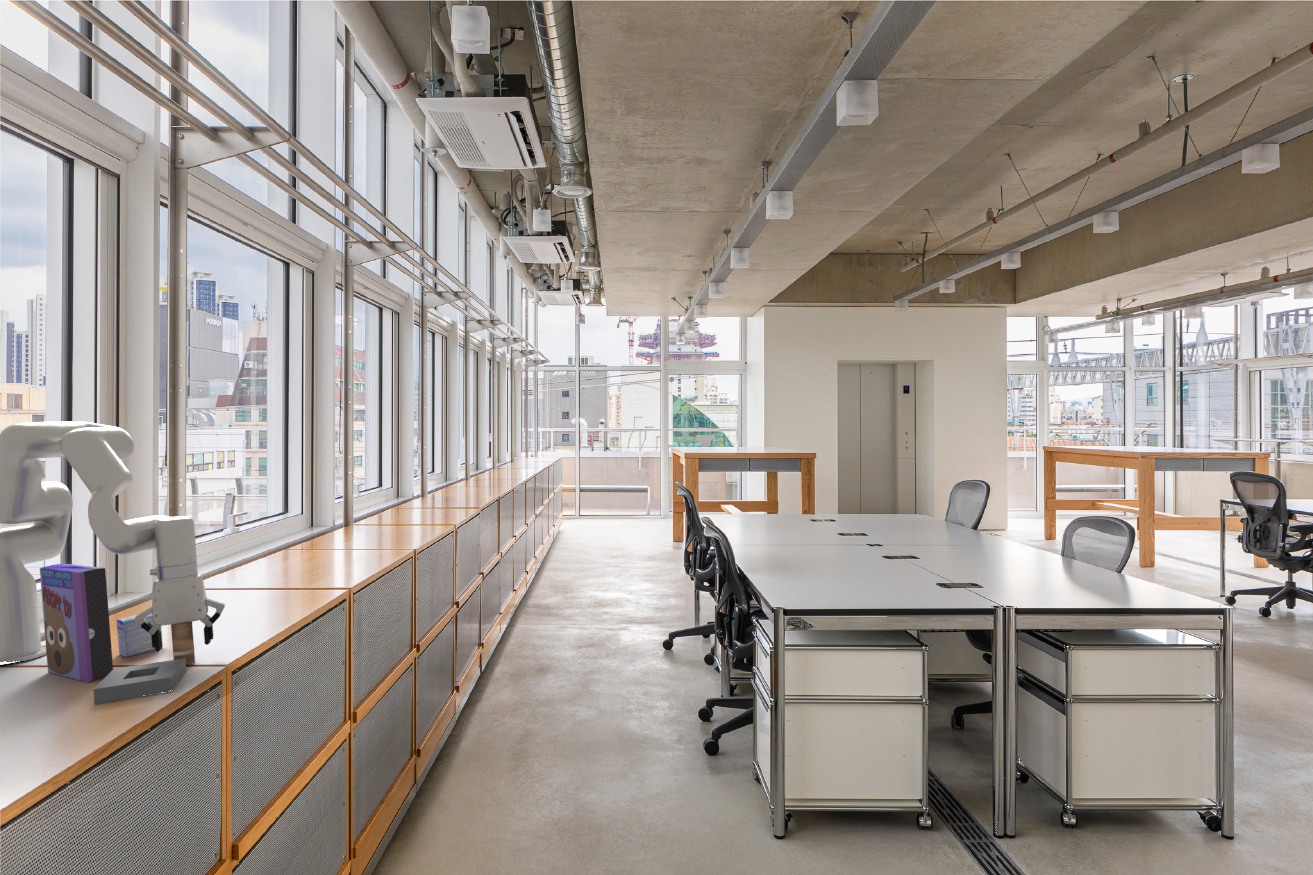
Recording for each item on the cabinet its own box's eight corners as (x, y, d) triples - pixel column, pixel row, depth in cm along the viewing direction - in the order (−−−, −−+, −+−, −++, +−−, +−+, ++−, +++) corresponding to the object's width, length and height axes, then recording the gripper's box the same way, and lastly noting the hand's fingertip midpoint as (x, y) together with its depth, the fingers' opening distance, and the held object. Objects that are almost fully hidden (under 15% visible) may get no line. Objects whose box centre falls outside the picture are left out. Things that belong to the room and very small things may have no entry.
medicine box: (156, 645, 181) (153, 610, 181) (163, 648, 178) (160, 613, 178) (118, 654, 175) (115, 619, 174) (125, 657, 172) (122, 621, 172)
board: (114, 682, 155) (113, 668, 155) (186, 671, 160) (185, 658, 160) (94, 704, 143) (93, 689, 143) (172, 691, 148) (171, 677, 148)
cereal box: (48, 672, 164) (39, 567, 163) (73, 665, 168) (64, 562, 167) (88, 683, 155) (79, 571, 154) (113, 675, 160) (105, 567, 159)
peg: (176, 662, 166) (172, 610, 166) (197, 659, 168) (193, 608, 167) (171, 668, 162) (167, 615, 162) (193, 665, 164) (189, 612, 164)
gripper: (127, 580, 158) (133, 658, 158) (219, 569, 164) (224, 644, 165) (136, 573, 165) (142, 648, 165) (224, 563, 171) (230, 635, 172)
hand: (183, 646), depth 165 cm, fingers open, 9 cm apart
